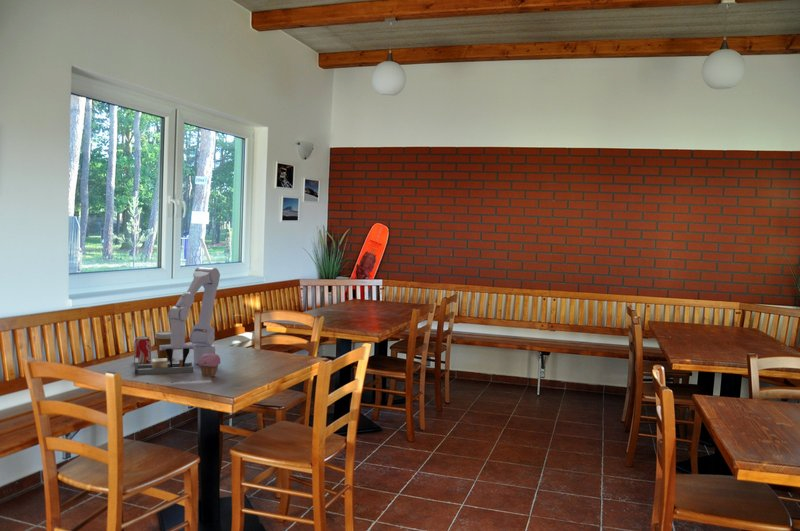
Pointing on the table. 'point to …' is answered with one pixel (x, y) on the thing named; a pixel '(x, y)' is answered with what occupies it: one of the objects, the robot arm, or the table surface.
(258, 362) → the table surface
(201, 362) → the cupcake
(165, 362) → the block
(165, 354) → the disposable coffee cup
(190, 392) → the table surface
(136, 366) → the lane
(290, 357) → the table surface
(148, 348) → the soda can
